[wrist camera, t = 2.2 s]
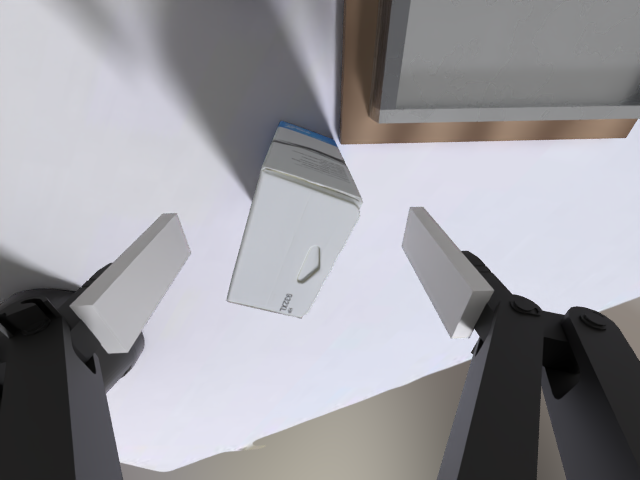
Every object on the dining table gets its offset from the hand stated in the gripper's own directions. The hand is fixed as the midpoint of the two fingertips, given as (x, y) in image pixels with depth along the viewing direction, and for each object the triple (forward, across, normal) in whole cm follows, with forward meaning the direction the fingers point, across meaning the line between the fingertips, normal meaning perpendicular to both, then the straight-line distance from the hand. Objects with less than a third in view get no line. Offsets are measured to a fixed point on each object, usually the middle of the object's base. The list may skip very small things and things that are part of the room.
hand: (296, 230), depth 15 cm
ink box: (+9, -1, 0) cm, 9 cm away
